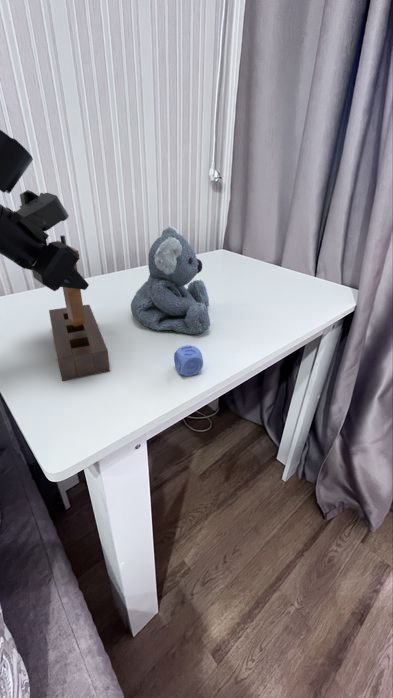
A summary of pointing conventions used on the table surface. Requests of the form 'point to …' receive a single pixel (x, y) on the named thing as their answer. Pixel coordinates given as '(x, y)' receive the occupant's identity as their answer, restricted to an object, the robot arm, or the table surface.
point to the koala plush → (172, 288)
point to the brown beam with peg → (73, 299)
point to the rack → (78, 345)
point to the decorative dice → (188, 360)
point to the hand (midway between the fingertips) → (78, 281)
